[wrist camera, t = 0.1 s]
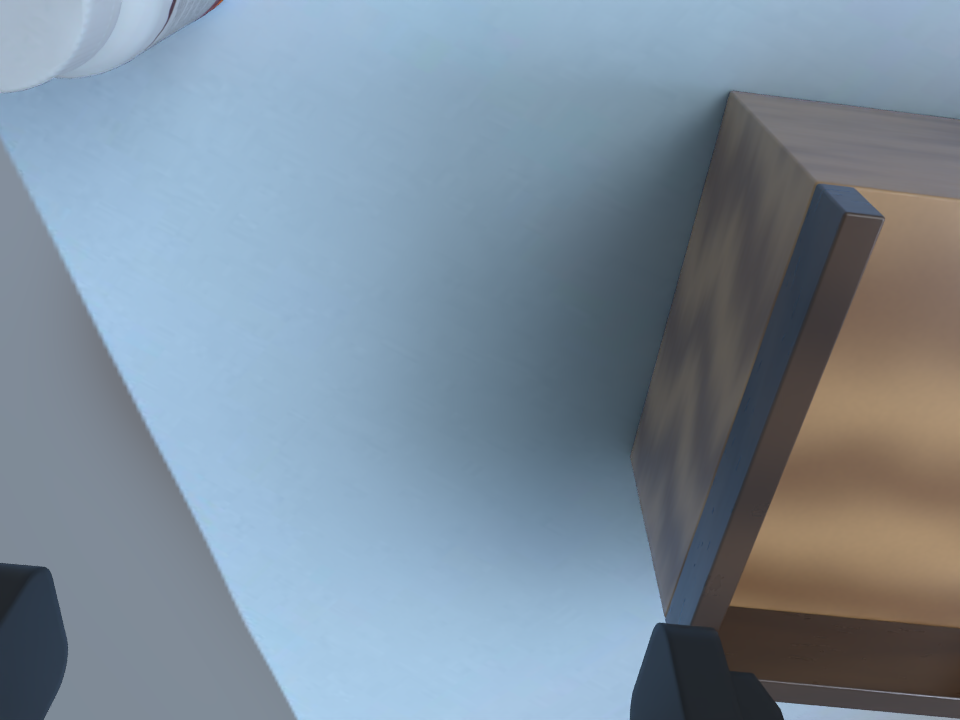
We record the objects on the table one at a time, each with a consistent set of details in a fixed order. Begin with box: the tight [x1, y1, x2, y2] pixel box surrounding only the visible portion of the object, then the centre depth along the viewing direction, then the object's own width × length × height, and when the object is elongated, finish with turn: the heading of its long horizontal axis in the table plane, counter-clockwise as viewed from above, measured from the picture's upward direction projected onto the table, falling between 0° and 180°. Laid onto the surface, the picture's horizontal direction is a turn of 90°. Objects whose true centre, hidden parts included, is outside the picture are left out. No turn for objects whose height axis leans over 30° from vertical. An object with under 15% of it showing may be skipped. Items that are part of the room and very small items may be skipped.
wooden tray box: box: [630, 91, 960, 719], centre depth 28 cm, size 16×14×12 cm
